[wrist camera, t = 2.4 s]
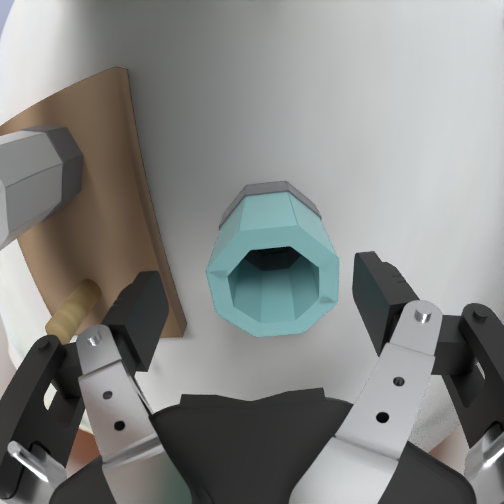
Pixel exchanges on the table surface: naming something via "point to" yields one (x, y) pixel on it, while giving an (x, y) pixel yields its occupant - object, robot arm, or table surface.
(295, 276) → the teal sleeve
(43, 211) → the grey sleeve
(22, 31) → the table surface
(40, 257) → the brown peg stand
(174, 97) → the table surface
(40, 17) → the table surface
